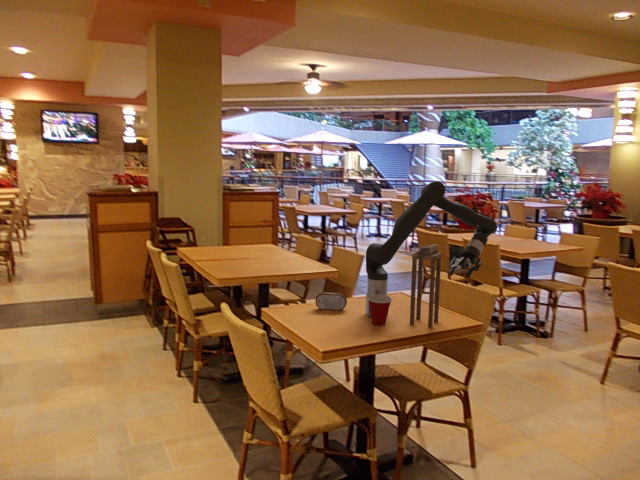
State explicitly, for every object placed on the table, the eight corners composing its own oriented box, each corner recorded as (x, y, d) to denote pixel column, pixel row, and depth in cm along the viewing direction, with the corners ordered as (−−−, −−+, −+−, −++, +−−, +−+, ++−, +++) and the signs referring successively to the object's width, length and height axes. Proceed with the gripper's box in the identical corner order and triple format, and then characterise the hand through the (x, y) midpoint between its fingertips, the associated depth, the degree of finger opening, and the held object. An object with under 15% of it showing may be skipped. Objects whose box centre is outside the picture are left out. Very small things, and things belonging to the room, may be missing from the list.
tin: (346, 309, 253) (347, 292, 252) (346, 311, 250) (346, 294, 249) (315, 308, 255) (315, 291, 254) (314, 310, 252) (315, 292, 251)
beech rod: (420, 254, 226) (420, 247, 226) (432, 249, 242) (432, 242, 242) (427, 255, 225) (427, 248, 225) (439, 249, 241) (439, 242, 240)
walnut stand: (409, 323, 232) (412, 251, 227) (416, 317, 241) (419, 248, 237) (431, 327, 227) (435, 253, 223) (438, 321, 236) (441, 250, 232)
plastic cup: (371, 328, 224) (372, 300, 223) (363, 321, 235) (363, 294, 233) (395, 326, 227) (396, 299, 226) (385, 319, 238) (386, 293, 236)
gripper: (456, 244, 250) (442, 268, 242) (484, 245, 240) (470, 270, 232) (462, 256, 254) (447, 279, 246) (489, 257, 244) (475, 282, 235)
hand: (458, 275), depth 239 cm, fingers open, 8 cm apart
